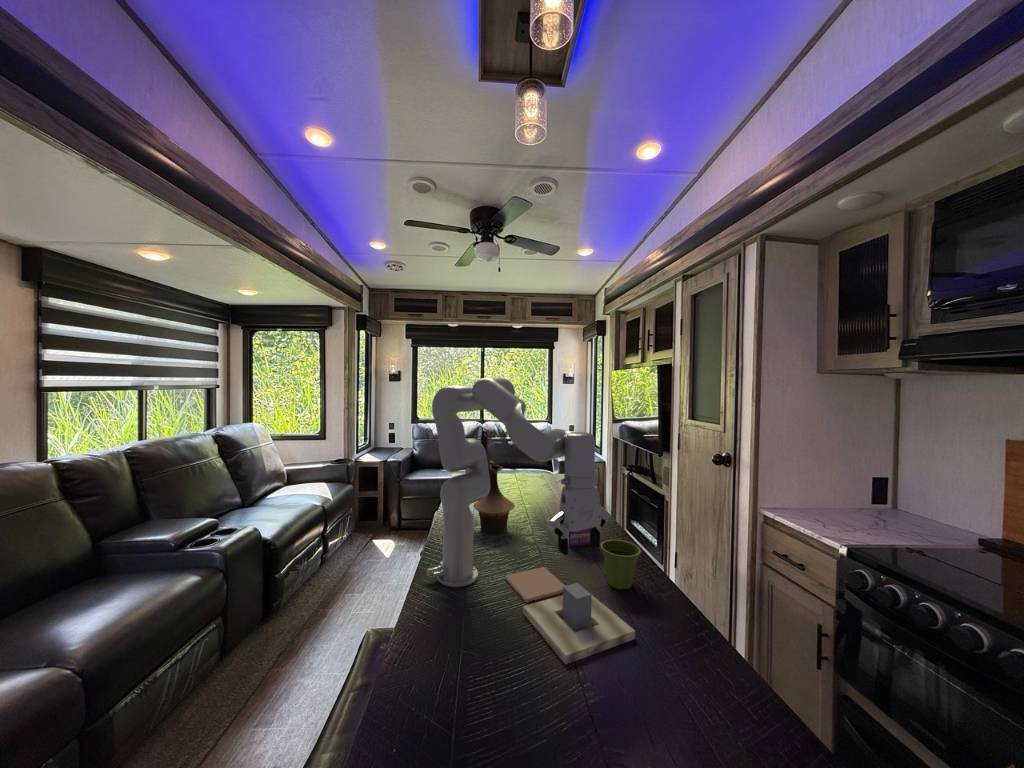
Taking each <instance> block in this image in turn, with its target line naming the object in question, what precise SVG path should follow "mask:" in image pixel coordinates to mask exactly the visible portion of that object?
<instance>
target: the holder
mask: <svg viewBox="0 0 1024 768" xmlns="http://www.w3.org/2000/svg"><path fill="white" fill-rule="evenodd" d="M522 606H523V607H522V614H523V615H524V617H525V618H526V617H527V618H526V619H527V620H528V621H529V623H531V625H532V626H533V627H534V628H535V629H536V631H537V632H538V633H539V634H540V636H541V637H542V638H543V639H544V641H545V642H546V643H547V644H548V646H550V648H551V649H552V651H554V652H555V654H556V655H557V656H558V658H559V659H560V660H561V661H562V662H563V664H564V665H565V664H566V665H569V664H571V662H572V663H574V662H576V661H579V659H580V660H582V659H585V658H587V657H591V656H592V655H595V654H596V655H597V654H598V653H601V652H603V651H606V650H609V649H612V648H615V647H617V646H620V645H622V644H625V643H627V642H630V641H633V640H635V639H636V630H635V629H634V628H633V627H632V626H630V625H629V624H628V623H626V622H625V621H624V620H623V619H622V618H620V617H619V615H617V614H616V613H614V612H613V611H612V610H611V609H609V608H608V607H607V606H606V604H604V603H602V602H601V601H600V600H599V599H597V598H596V597H595V596H594V595H592V602H591V627H590V628H587V629H584V630H581V631H578V632H574V631H573V630H572V629H571V628H570V627H569V626H568V625H567V624H566V623H565V622H564V621H563V620H562V613H563V594H562V595H558V596H554V597H551V598H547V599H545V600H541V601H537V602H533V603H529V604H526V605H522ZM568 663H569V664H568Z"/></svg>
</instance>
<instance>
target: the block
mask: <svg viewBox="0 0 1024 768" xmlns="http://www.w3.org/2000/svg"><path fill="white" fill-rule="evenodd" d="M562 595H563V613H562V617H561V619H562V620H563V621H564V622H565V623H566V624H567V625H568V626H569V627H570V628H571V629H572V630H573V631H574V632H578V631H581V630H584V629H587V628H590V627H592V625H591V602H592V596H593V595H592V594H591V593H590V592H589V591H588V590H587V589H585V588H584V587H583V586H582V585H581V584H579V582H576V583H572V584H568V585H565V586H564V587H563V593H562Z"/></svg>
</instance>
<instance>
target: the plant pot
mask: <svg viewBox="0 0 1024 768" xmlns="http://www.w3.org/2000/svg"><path fill="white" fill-rule="evenodd" d="M600 548H601V550H602V554H603V557H604V558H603V559H604V566H605V573H606V574H605V575H606V582H607V584H609V586H610V587H612V588H614V589H617V590H624V589H625V590H629V589H630V588H632V585H633V581H634V575H635V571H636V565H637V561H638V560H639V556H640V555H641V552H642V550H641V548H640V547H639V546H638V545H636V544H635V543H632V542H629V541H626V540H622V539H607V540H605V541H602V542H600Z"/></svg>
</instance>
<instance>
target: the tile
mask: <svg viewBox="0 0 1024 768" xmlns="http://www.w3.org/2000/svg"><path fill="white" fill-rule="evenodd" d="M505 579H506V580H505ZM504 580H505V581H506V582H507V584H509V585H510V586H511V588H513V590H514V591H515V592H516V593H517V594H518V595H519V597H520V596H521V597H520V598H521V599H522V600H523V601H524V603H526V602H527V603H530V602H529V601H531V602H533V601H532V600H535V601H537V599H538V600H541V598H542V599H545V598H549V597H553V596H556V595H559V594H563V587H564V586H566V584H564V583H563V582H562V581H560V579H558V577H556V576H555V575H554V574H552V573H551V572H550V571H549V570H548V569H547V568H546V567H545V566H542V567H541V566H540V567H536V568H533V569H528V570H524V571H519V572H515V573H510V574H507V575H505V576H504Z"/></svg>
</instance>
